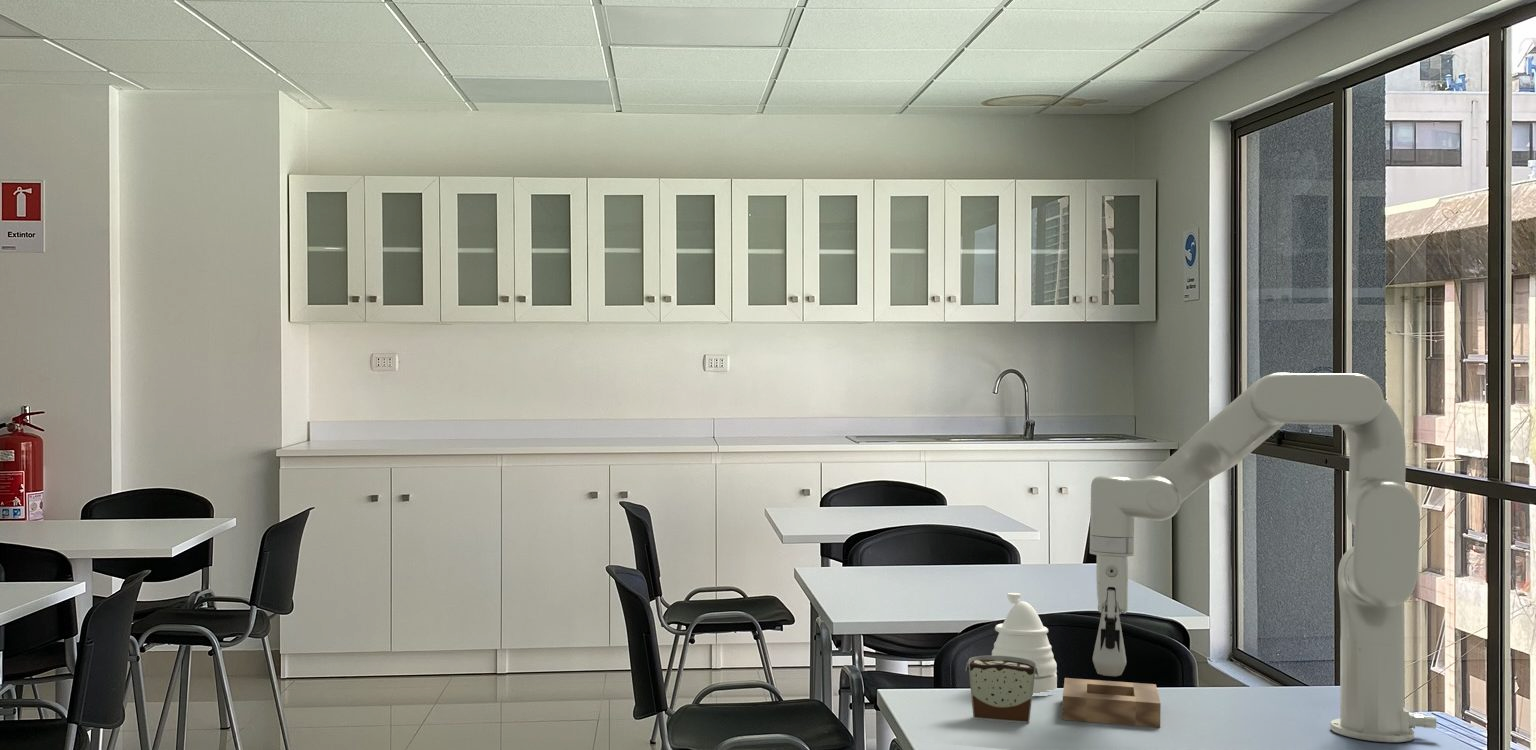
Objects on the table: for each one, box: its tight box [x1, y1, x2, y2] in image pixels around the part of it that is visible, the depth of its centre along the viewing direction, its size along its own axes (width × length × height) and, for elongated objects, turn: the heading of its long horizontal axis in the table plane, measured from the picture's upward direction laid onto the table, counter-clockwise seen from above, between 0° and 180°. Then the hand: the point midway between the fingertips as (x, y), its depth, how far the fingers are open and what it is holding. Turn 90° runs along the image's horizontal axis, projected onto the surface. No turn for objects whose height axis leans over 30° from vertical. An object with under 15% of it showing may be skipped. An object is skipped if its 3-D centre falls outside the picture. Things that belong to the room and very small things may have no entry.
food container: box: [965, 655, 1039, 724], centre depth 211 cm, size 12×6×10 cm, turn 74°
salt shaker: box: [1092, 603, 1127, 677], centre depth 215 cm, size 6×6×13 cm
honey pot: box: [991, 592, 1058, 693], centre depth 233 cm, size 13×13×18 cm
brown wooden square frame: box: [1062, 677, 1162, 728], centre depth 215 cm, size 16×16×4 cm
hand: (1109, 649), depth 215 cm, fingers closed on salt shaker, 3 cm apart
